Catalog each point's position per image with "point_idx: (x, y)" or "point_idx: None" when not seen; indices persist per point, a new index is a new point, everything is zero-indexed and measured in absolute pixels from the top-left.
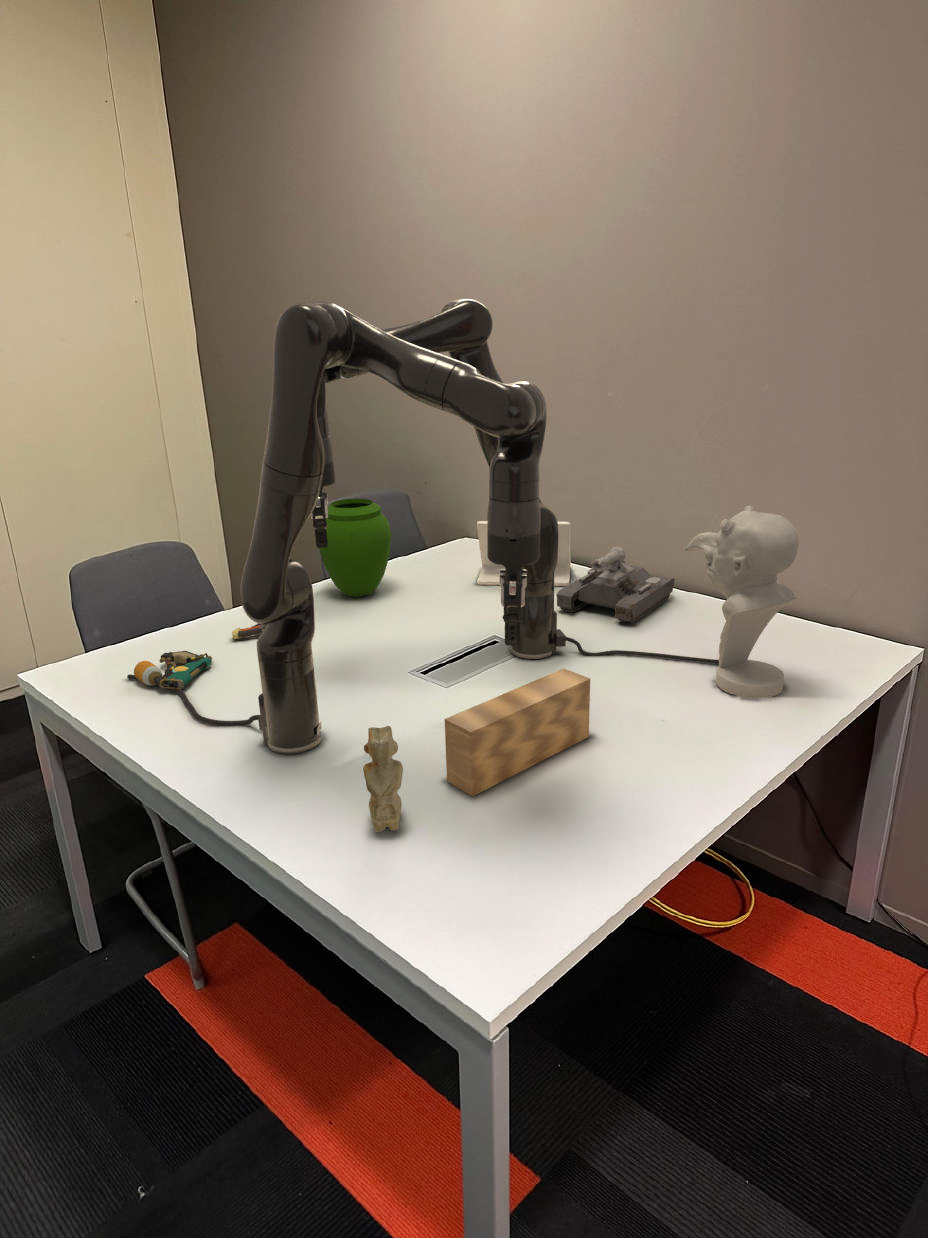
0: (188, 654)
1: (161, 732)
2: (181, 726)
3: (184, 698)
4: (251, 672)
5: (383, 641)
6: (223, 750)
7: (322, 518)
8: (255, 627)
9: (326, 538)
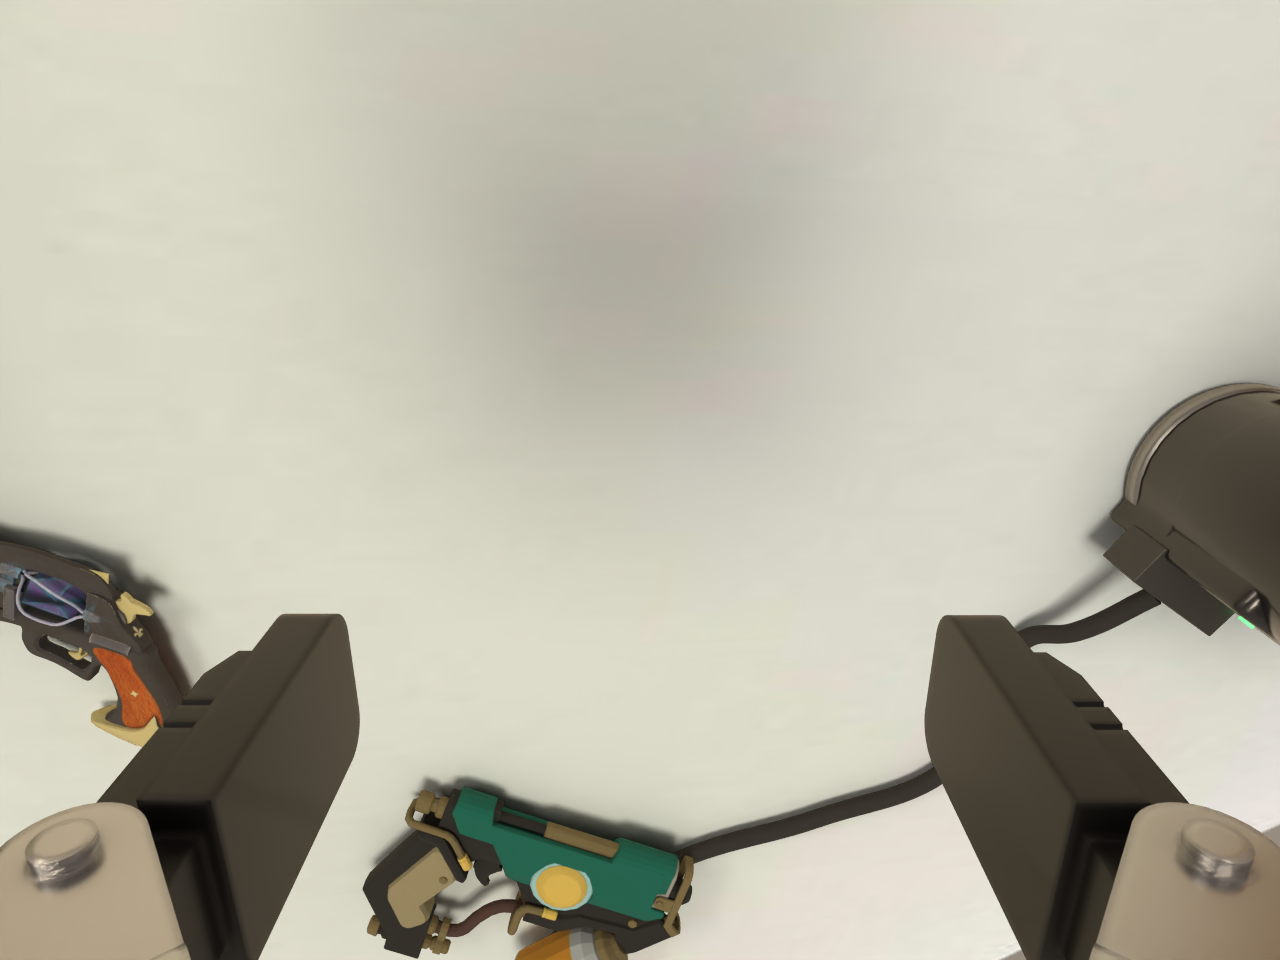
0: (420, 879)
1: (961, 864)
2: (940, 818)
3: (769, 840)
4: (543, 642)
5: (251, 17)
6: (1169, 692)
7: (202, 845)
8: (126, 667)
9: (1053, 689)
